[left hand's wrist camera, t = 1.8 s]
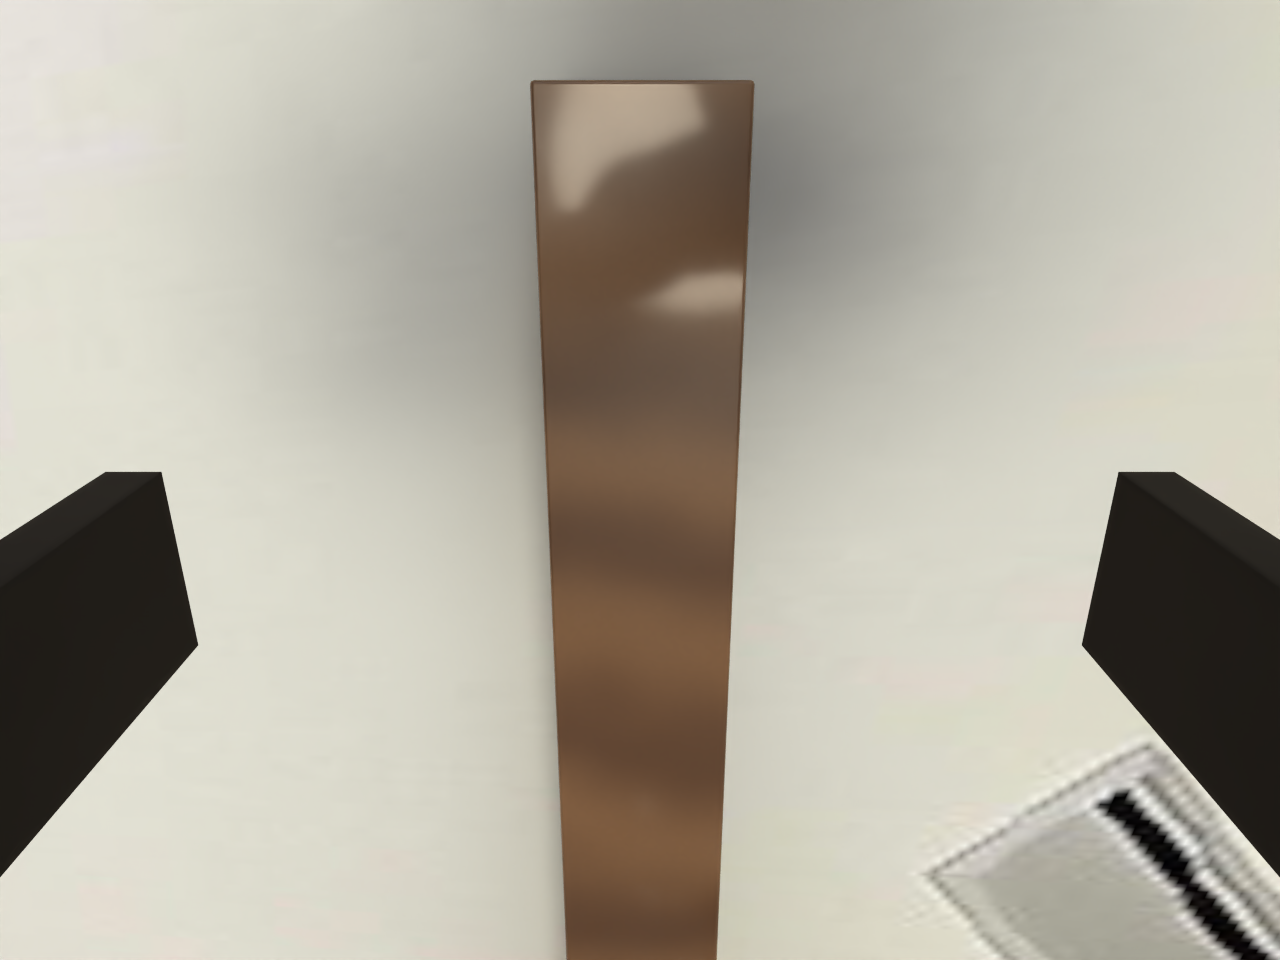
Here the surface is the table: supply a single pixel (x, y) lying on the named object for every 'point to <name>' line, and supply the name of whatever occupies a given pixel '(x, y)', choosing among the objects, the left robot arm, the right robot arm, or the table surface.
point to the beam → (642, 490)
